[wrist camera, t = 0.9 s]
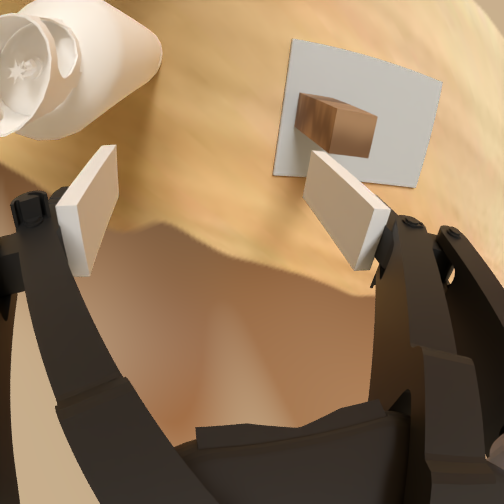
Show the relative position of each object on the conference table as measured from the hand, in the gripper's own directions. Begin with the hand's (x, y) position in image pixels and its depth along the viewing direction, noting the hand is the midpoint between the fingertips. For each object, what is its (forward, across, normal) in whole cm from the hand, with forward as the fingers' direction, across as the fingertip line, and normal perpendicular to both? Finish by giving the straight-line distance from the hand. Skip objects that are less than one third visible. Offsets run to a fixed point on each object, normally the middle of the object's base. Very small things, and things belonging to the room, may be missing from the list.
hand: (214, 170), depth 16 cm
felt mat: (+24, +22, 0) cm, 32 cm away
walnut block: (+23, +14, 0) cm, 27 cm away
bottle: (+24, -9, +6) cm, 26 cm away
